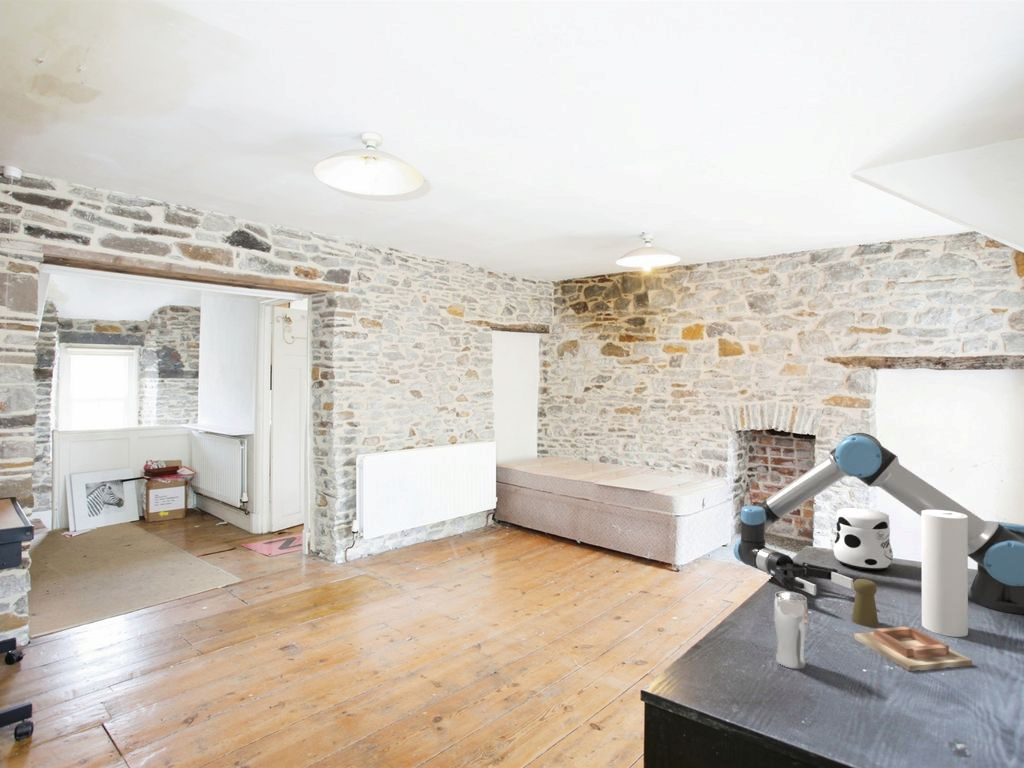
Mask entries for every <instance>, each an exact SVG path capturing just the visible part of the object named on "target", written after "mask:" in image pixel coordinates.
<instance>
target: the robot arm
mask: <svg viewBox="0 0 1024 768" xmlns="http://www.w3.org/2000/svg"><path fill="white" fill-rule="evenodd" d="M846 477H848V478H852V477H854V478H857V479H858V480H859V481H861V482H863V484H865V485H867V486H868V487H870V488H871V487H872V488H874V487H879V488H880V489H882V491H884V492H886V493H887V494H888V495H890V496H891V497H893V498H895V500H897V501H899V502H900V503H902V504H903V505H904V506H906V507H907V508H909V509H910V510H912V511H913V512H914V513H916V514H917V515H919V517H921V511H922V510H946V511H953V512H958V513H962V514H965V515H967V516H968V558H970V559H971V560H972V561H974V562H976V563H977V569H976V570H977V571H976V574H975V577H974V579H973V581H972V583H971V585H970V588H969V599H971V601H972V602H974V603H976V604H978V605H980V606H983V607H986V608H989V609H992V610H996V611H1001V612H1005V613H1011V614H1018V615H1024V524H1019V523H1010V522H1001V521H993V520H984V519H982V518H980V517H979V516H977V515H976V514H975V513H974V512H971V511H970V510H969V509H968V508H966V507H964V506H963V505H961V504H960V503H958V502H957V501H956V500H953V499H952V498H951V497H949V496H947V495H946V494H945V493H944V492H942V491H940V490H939V489H938V488H936V487H935V486H933V485H931V484H930V483H929V482H927V481H925V480H924V479H922V478H921V477H919V476H918V475H916V474H915V473H913V472H911V470H909V469H907V468H906V467H905V466H904V465H902V464H901V463H900V462H899V457H898V456H897V454H895V453H893V452H892V451H890V450H889V449H888V448H886V447H884V446H882V444H881V442H880V441H879V440H878V439H877V438H876V437H875V436H873V435H871V434H868V433H865V432H855V433H852V434H849V435H848V436H846V437H845V438H843V439H842V440H841V441H840V442H839V444H838V445H837V446H836V447H835V448H834V449H832V450H831V451H829V452H828V457H826V458H825V459H824V460H822V461H820V463H817V464H816V465H815V466H813V467H812V468H811V469H809V470H808V471H806V472H805V473H803V474H802V475H800V476H798V477H797V478H796V479H794V480H793V481H792V482H790V483H789V484H787V485H786V486H784V487H783V488H780V490H778V491H776V493H774V494H772V495H771V496H770V497H768V498H766V499H765V500H764V501H762V502H761V503H759V504H757V505H745V506H742V507H741V509H740V539H739V540H737V542H735V545H734V547H733V555H734V557H735V558H736V560H738V561H740V562H741V563H743V564H744V565H746V566H750V567H752V568H754V569H757V570H760V571H761V572H763V573H766V574H767V575H769V576H771V577H773V578H775V579H776V580H777V581H778V583H780V584H781V585H782V586H783V587H784V588H785V587H788V586H789V588H788V589H790V590H795V588H796V589H798V590H800V591H801V590H802V591H804V592H806V593H808V594H810V595H812V596H816V595H817V584H814V583H812V582H810V581H807V580H805V579H802V578H807V579H809V577H810V578H817V579H824V580H830V582H832V583H834V584H837V585H840V586H842V587H845V588H848V589H850V590H854V578H851V577H849V576H846V575H843V574H840V573H838V572H839V570H838V569H835V568H833V567H832V568H830V567H825V566H822V565H815V564H813V563H812V564H811V563H808V562H805V561H804V562H802V564H801V563H798V562H795V561H794V560H793V559H792V557H790V555H788V554H785V553H783V552H779V551H777V550H775V549H772V548H769V547H766V530H767V529H768V528H769V527H770V526H772V525H773V524H775V523H776V522H777V521H779V520H781V519H782V518H783V517H785V516H787V515H788V514H790V513H792V512H793V511H794V510H796V509H797V508H799V507H800V506H801V507H802V505H803V504H805V503H806V502H809V500H812V498H814V497H816V496H818V495H819V494H821V493H822V492H824V491H825V490H827V489H828V488H830V487H832V486H833V485H834V484H836V483H838V482H839V481H841V480H842V479H844V478H846Z"/></svg>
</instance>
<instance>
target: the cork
mask: <svg viewBox="0 0 1024 768" xmlns="http://www.w3.org/2000/svg"><path fill="white" fill-rule="evenodd" d="M853 590H854V591H855V597H854V603H853V608H852V609H853V610H852V616H851V622H853V623H854V624H856V625H859V626H863V627H869V628H877V627H878V626H879V619H878V618H879V617H878V614H877V613H878V612H877V605H876V599H875V594H876V593H877V590H878V589H877V585H876V583H875V582H874V581H872V580H870V579H866V578H858V579H857V578H856V580H853Z"/></svg>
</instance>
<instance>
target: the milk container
mask: <svg viewBox="0 0 1024 768" xmlns="http://www.w3.org/2000/svg"><path fill="white" fill-rule="evenodd" d="M835 525H836V527H835V529H836V536H835V539H834V541H833V554H834V558H835V559H836V560H837V561H838V562H839V563H840V564H843V565H846V566H847V567H851V568H855V569H861V570H867V571H880V570H886V569H888V568H890V567H891V565H892V563H893V559H894V558H893V557H894V554H893V549H892V545H891V542H890V541H891V539H890V538H891V537H890V536H891V535H890V533H891V528H890V516H889V514H887V513H886V512H885V513H884V512H881V511H879V510H874V509H866V508H856V507H853V508H852V507H851V508H850V507H845V508H839V509H837V511H836V523H835Z"/></svg>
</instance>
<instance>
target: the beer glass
mask: <svg viewBox="0 0 1024 768" xmlns="http://www.w3.org/2000/svg"><path fill="white" fill-rule="evenodd" d="M807 600H808V598H807V597H806V596H805V595H803V594H801V593H798V592H794V591H787V590H781V591H777V592H775V593H774V601H773V621H774V622H773V623H774V628H775V634H776V639H777V649H776V653H775V661H776V662H777V663H778V664H779V665H780V664H781V666H782V665H783V666H782V667H784V666H785V668H787V667H788V669H794V670H800V669H803V668H805V667H806V664H807V663H806V658H805V653H804V651H805V649H804V648H805V642H806V641H805V640H806V636H807V630H808V624H809V613H808V601H807Z"/></svg>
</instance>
